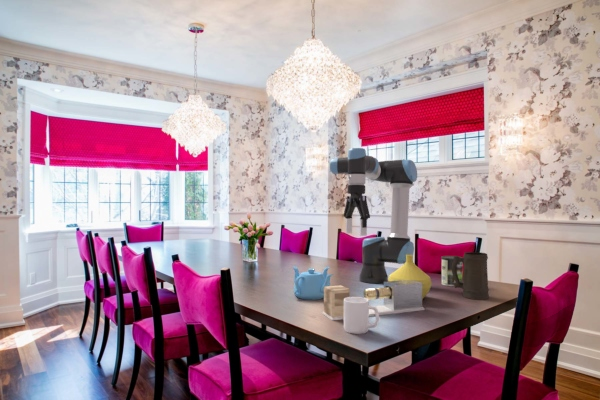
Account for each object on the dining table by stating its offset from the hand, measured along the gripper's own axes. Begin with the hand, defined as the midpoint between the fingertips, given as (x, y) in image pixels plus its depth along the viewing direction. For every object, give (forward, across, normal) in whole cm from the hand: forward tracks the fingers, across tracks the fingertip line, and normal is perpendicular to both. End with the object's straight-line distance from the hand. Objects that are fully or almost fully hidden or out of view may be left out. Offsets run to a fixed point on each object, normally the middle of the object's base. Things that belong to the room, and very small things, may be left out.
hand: (355, 234), depth 169 cm
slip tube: (+24, +15, +7) cm, 29 cm away
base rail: (+29, +16, 0) cm, 33 cm away
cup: (+30, +34, -14) cm, 47 cm away
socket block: (+29, +16, -15) cm, 36 cm away
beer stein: (+28, +7, +54) cm, 61 cm away
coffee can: (+28, -16, +63) cm, 71 cm away
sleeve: (+29, +15, +13) cm, 35 cm away
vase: (+28, +2, +26) cm, 38 cm away
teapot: (+29, -16, -13) cm, 35 cm away
